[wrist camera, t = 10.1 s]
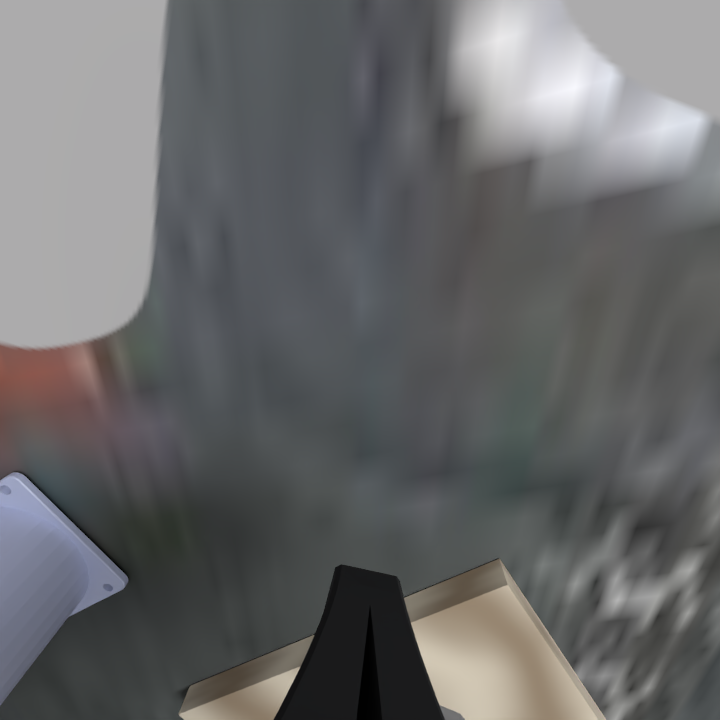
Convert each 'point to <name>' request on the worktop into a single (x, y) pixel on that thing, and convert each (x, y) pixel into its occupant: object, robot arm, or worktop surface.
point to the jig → (436, 660)
